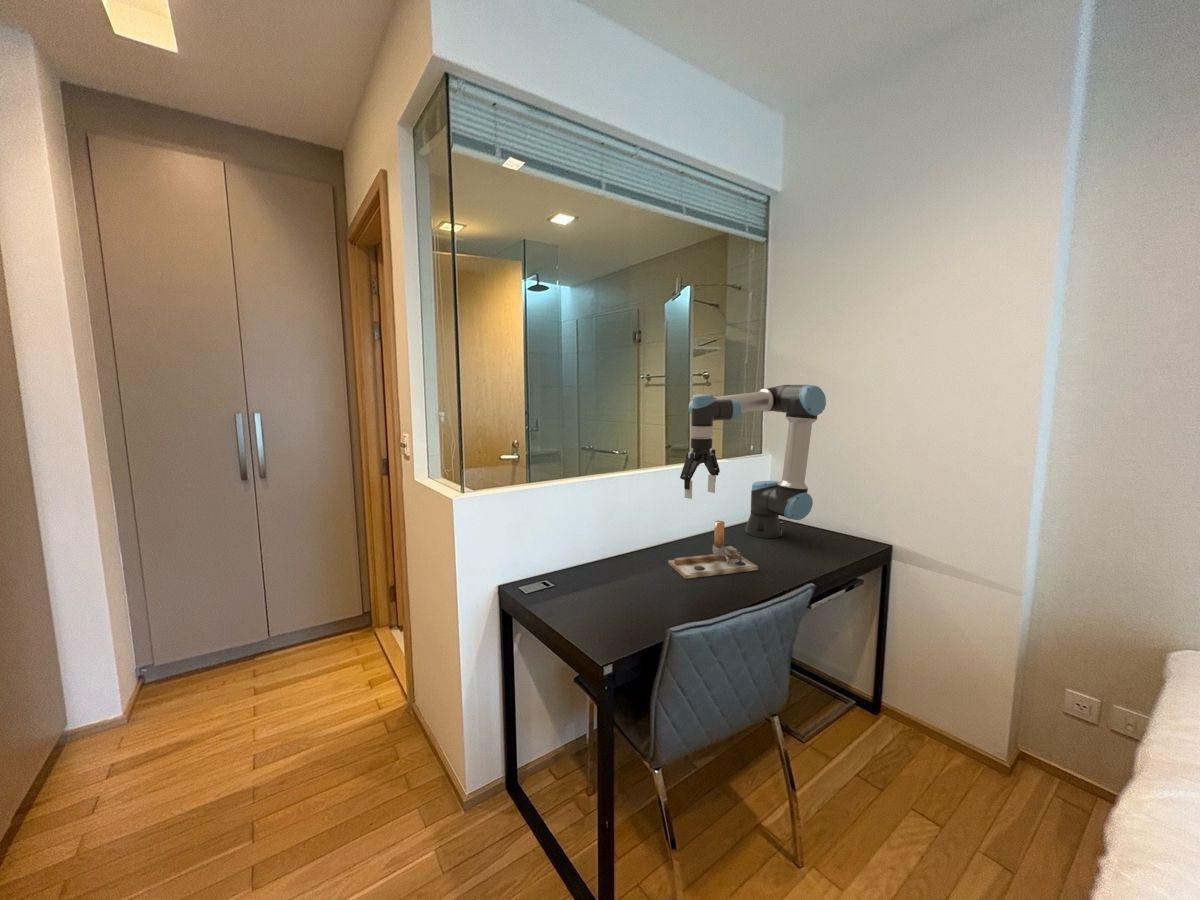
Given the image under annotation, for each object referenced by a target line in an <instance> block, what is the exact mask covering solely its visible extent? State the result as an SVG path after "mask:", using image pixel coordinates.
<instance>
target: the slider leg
mask: <svg viewBox="0 0 1200 900" xmlns="http://www.w3.org/2000/svg"><path fill="white" fill-rule="evenodd" d="M713 535H714V536H713V538H714V539H713V544H712V554H716V555H717V556H723V557H724V558H726V559H727V562H726V564H729V560H730V558H729V557H728V556H726V555H725V553H726V552H725V547H726V546H724V545H725V521H722V520H714V534H713Z"/></svg>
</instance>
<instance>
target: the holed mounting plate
mask: <svg viewBox="0 0 1200 900" xmlns="http://www.w3.org/2000/svg"><path fill="white" fill-rule="evenodd" d="M724 547H725V555H726V556H728V557H729V558H730V560H729V564H726V562H727V559H726V558H724V557H723V556H717V555H716V554H714V553H712V554H701V555H694V556H684V557H675V558H674V559H669V560H667V562H668V565H669V566H671V567H672V568H673V569H674V570H675V571H676V572H677V573H678V574H679V575H680V576H681V577H683V579H685V580H687V579H695V578H696V579H697V578H702V577H710V576H711V577H712V576H720V575H728V574H738V573H745V572H752V571H759V566H758V565H756V564H755V563H753V562H752V561H750V560H748V559H746V557H744V556H742V552H741V551H738V549H737V548H736V547H734V546H732V545H728V546H724Z"/></svg>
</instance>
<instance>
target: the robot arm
mask: <svg viewBox="0 0 1200 900" xmlns="http://www.w3.org/2000/svg"><path fill="white" fill-rule="evenodd" d="M826 406H827V398H826V393H825V392H824V391H823V389H822V388H820V386H818V385H815V384H782V385H777V386H773V387H767V388H762V389H760V390H758V391H756V392H755V391H754V392H748V393H747V392H746V393H738V394H736V393H735V394H729V395H728V394H727V395H721V396H714V395H713V394H694V395H692V399H691V401H690V402H689V404H688V412H689V414H690V416H691V428H690V429H691V431H690V432H691V435H690V436H691V439H690V448H691V449H692V452H691V451H690V452H689V451H687V452H686V457H685V461H684V464H683V467H682V470H681V473H680V475H679V478H680V479H681V480H683V481H684V482H683V483H684V484H683V485H684V486H683V487H684V498H685V499H689V500H691V499H693V480H692V478H693V477H694V474H695V472H696V471H697V468H698V466H700V465H702V464H704V466H705V467H706V469H707V471H708V472H709V474H708V475H707V476H708V477H707V492H708V493H712V494H715V493H716V478H717V477H716V476H719V474H720V472H721V470H720V466H719V463H718V460H717V456H716V449H715V448H714V449H713V438H712V437H713V433H714V432H713V428H714V425H713V424H714V421H733V420H737V419H738V418H739V417H740V416H741V414H742V413H747V412H755V411H756V412H757V411H761V412H766V413H767V412H776V413H785V419H787V421H788V429H787V436H786V437H787V438H786V445H785V451H784V452H785V454H784V462H783V467H782V469H783V470H782V474H781V475H782V476H781V480H780V481H777V480H760V481H755V482H753V483H752V485H751V491H750V492H751V495H750V515H749V516H748V517H749V518H748V521H747V523H746V526H745V533H747V534H748V535H749V536H752V537H756V538H762V539H777V538H780V537H782V536H783V528H782V523H781V521H780V516H781V517H784V518H785V519H788V520H793V521H801V520H802V519H805V518H806V517H807V516H808V515H809V514H810V512H811V510H812V508H813V504H814V501H813V498H812V495H811V494H809V493H808V492H809V491H808V490H809V487H808V486H807V484H806V482H805V481H806V475H807V467H808V459H809V450H810V443H811V437H812V436H811V435H812V429H813V428H812V427H813V424H814V423H815V422H816V421H817V420H818V416H819V415H821V414H822V413H823V412H824V410H825V408H826Z"/></svg>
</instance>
